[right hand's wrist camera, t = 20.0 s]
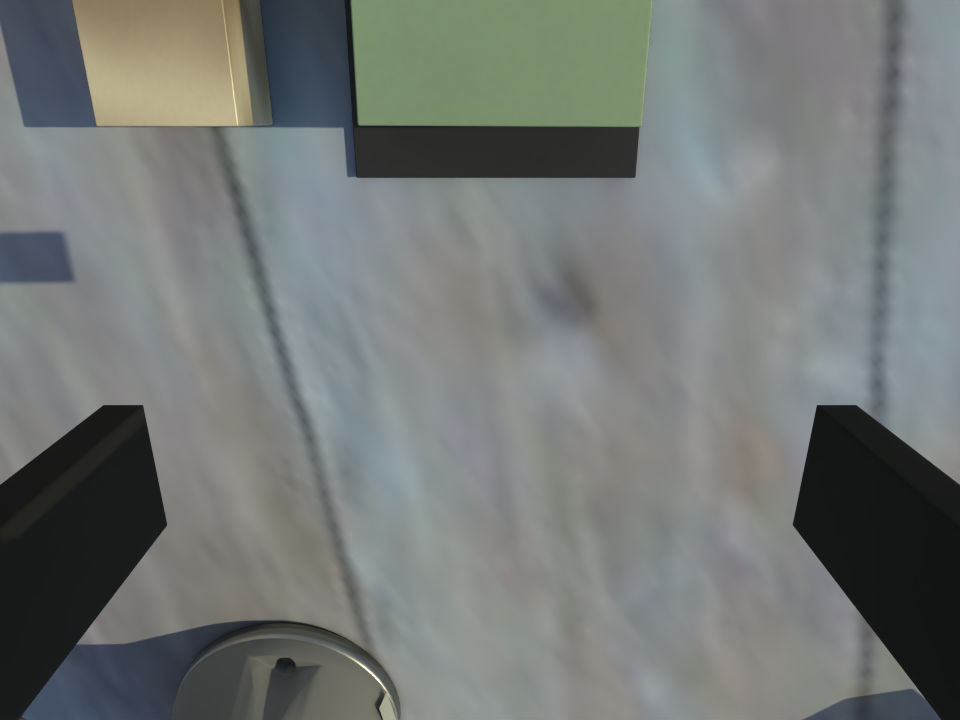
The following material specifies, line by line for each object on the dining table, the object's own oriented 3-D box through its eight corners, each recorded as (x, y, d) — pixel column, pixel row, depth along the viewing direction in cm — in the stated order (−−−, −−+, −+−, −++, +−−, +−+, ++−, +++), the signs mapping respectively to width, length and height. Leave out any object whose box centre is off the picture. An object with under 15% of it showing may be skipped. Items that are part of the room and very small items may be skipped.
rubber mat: (633, 177, 33) (635, 177, 32) (357, 176, 33) (356, 177, 32) (661, -160, 28) (663, -164, 28) (336, -160, 28) (334, -164, 28)
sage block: (608, 124, 32) (642, 126, 25) (382, 123, 32) (357, 125, 25) (623, -94, 28) (666, -157, 22) (373, -95, 28) (340, -159, 22)
